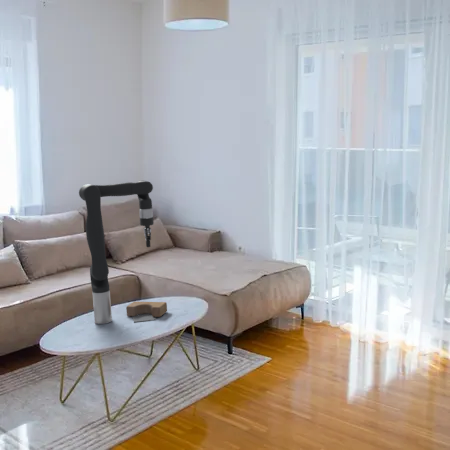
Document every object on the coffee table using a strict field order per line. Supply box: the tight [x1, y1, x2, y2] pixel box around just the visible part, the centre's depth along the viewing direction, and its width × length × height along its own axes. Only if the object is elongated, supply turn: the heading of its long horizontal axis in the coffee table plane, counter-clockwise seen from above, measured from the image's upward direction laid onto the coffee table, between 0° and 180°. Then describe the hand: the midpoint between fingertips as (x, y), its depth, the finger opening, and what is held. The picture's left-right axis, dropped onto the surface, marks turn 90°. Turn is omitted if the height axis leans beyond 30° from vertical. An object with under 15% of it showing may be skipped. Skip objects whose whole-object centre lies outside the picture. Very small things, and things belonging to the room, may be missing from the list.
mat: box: [132, 314, 157, 324], centre depth 327 cm, size 12×11×1 cm
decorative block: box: [125, 301, 168, 318], centre depth 332 cm, size 11×6×20 cm
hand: (148, 246), depth 334 cm, fingers closed
